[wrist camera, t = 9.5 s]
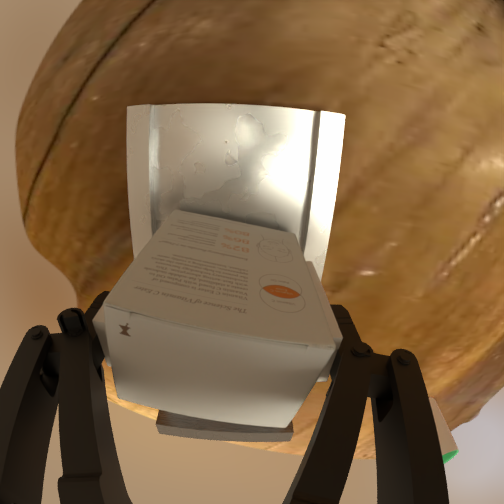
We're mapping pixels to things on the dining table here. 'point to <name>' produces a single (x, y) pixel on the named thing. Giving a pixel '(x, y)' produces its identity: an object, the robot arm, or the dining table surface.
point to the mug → (443, 433)
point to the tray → (233, 191)
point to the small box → (218, 323)
